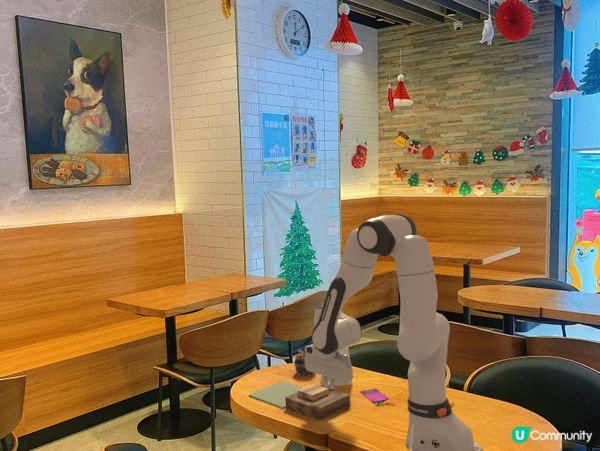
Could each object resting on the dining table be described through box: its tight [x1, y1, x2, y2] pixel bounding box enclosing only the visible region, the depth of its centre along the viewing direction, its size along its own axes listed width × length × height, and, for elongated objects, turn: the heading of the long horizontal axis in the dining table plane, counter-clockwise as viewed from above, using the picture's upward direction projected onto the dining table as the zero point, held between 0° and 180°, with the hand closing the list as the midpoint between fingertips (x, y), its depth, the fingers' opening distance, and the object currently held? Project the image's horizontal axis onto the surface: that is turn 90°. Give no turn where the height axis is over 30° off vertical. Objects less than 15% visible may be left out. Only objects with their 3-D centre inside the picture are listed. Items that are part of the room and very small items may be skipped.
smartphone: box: [359, 388, 390, 407], centre depth 210 cm, size 7×15×1 cm, turn 18°
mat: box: [248, 380, 304, 409], centre depth 218 cm, size 20×18×1 cm
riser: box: [285, 384, 351, 421], centre depth 204 cm, size 17×16×4 cm
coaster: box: [298, 383, 329, 401], centre depth 205 cm, size 8×8×2 cm
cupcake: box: [293, 348, 315, 376], centre depth 241 cm, size 10×10×10 cm
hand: (329, 388), depth 199 cm, fingers closed
